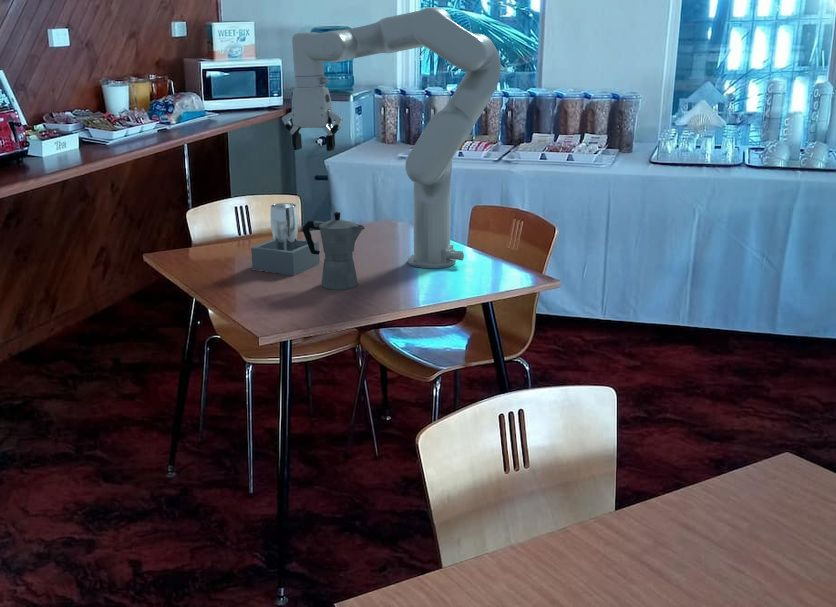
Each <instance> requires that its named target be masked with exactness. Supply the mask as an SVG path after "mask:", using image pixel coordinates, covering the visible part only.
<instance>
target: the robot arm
mask: <svg viewBox="0 0 836 607" xmlns="http://www.w3.org/2000/svg"><path fill="white" fill-rule="evenodd" d="M291 41H292V42H291V43H292V44H291V46H292V59H293V60H292V61H293V73H294V84H295V85H294V87H295V88H293V91H292V97H291V111H290V112H288V113H287V114H285V115H284V116H281V120H282V122H283V124H284V126H285V129H287V131H288V132H289V133H290V135H291V139H292V146H293V151H298V150H301V149H302V148H303V145H302V144H303V142H302V141H303V140H302V134H301V133H300V131H301V130H302V129H303V128H304V129H307V128H308V129H323V130H324V132H325V133H326V134H327V135H325V144H326V145H325V147H326V151H327V152H331V151H334V150H335V147H336V136H335V135H336V134H337V132H338V131H339V130H340V129H341V127H342V126H341V125H342V123H343V120H344V118H343V117H342V116H340V115H339V114H337V113H335V112H334V110H333V103H332V98H331V94H330V90H329V87H326V84H329V83H330V80H329V78H328V77H326V75H325V69H324V68H325V67H324V62H326V63H338V62H344V61H348V60H353V59H358V58H363V57H368V56H372V55H373V56H374V55H377V54H379V55H380V54H393V53H398V52H404V51H408V50H413V49H417V48H422V47H423V48H424V47H425V48H427V49H428V50H429V51H431V52H432V53H434V54H436V55H437V56H439V57H440V58H442V59H443V60H444V61H446V62H447V63H449V64H451V65H452V66H454V67H456V68H458V69H459V70H460V71H461V70H462V71H464V72H465V74H464V75H463V78H462V80H461V81H460V83H458V85H457V87H456V89H455V91H454V93H453V94H452V96H451V97H450V99H449V100H448V102H447V103H446V105H444V107H443V108H441V109H440V110H439V111H437V112H436V113H435V114H433V116H432V117H431V118H430V120H429V121H428V122H427V124H426V125H425V127H424V128H423V131H422V132H421V134H420V136H419V137H418V139H417V140H416V142H415V144H414V146H413V147H412V149H411V150H410V152H409V154H408V155H407V157H406V160H405V164H404V165H405V167H404V168H405V172H406V176H407V177H408V179H409V180H410V181H411V182H412V183H413V192H412V194H413V197H412V198H413V199H412V200H413V202H412V203H413V205H412V206H413V208H412V209H413V221H412V222H413V223H412V224H413V254H411V255H409V256H408V258H407V262H408V264H409V265H410V266H413V267H417V268H421V269H441V268H447V267H451V266H453V265H454V264H456V260H457V261H463V260H464V257H465V254H464V252H463V250H462V251H461V250H455V249H454V244H451V240H450V239H451V185H452V184H451V183H452V172H453V171H452V168H453V160H452V159H453V158H454V156H455V155H456V153H457V151H458V150H459V148H461V146H462V144H463V143H464V142H465V141H466V140H467V139H468V138H469V137H470V135H471V132H472V130H473V128H474V126H475V125H476V123H477V122H478V120H479V118H480V117H481V116H482V113H483V112H484V110H485V108H486V107H487V106H488V103H489V102H490V100H491V99H492V97H493V95H494V93H495V91H496V89H497V86H498V84H499V81H500V78H501V72H502V71H501V70H502V65H501V64H502V63H501V59H500V55H499V52H498V50H497V48H496V46H495V44H494V43H493V41H492V39H490V38H489V37H488V36H486V35H485V34H481V33H478V32H477V33H472V32H471V31H468V30H467V29H465V28H464V27H462V26H460V25H459V24H457V23H456V22H455V21H453V20H452V17H451V15H450V14H449V12H448V11H446V10H445V9H443V8H441V7H425V8H423V9H421V10H417V11H411V12H406V13H402V14H397V15H393V16H387V17H383V18H381V19H380V20H378V21H376V22H374V23H370V24H365V25H361V26H358V27H353V28H352V27H351V28H347V29H339V30H330V31H326V32H320V33H319V32H313V31H312V32H306V31H305V32H297V33H294V34H293V35H292V38H291ZM291 120H292V122H291ZM334 122H335V123H334Z"/></svg>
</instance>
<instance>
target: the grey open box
mask: <svg viewBox="0 0 836 607" xmlns="http://www.w3.org/2000/svg"><path fill="white" fill-rule="evenodd" d="M313 242H314V248H315V250H317V251H320V243H319V242H320V241H317V240H313ZM250 250H251V252H250V253H251V265H252V266H251V267H252V270H253V269H254V270H262V271H267V272H266V273H268V272H273V273H272V274H276V273H279V274H278V275H284V274H285V275H284V276H291V275H293V277H294V275H295V276H296V275H299V274H302V273H303V272H305V271H307V270H310V269H312V268H313V267H315V266H318V265H319V264H320V253H319V254H318V255H317V254H312V253H311V252H310V249H309V246H308V244H307V241H306V239H301V238H300V239H298V238H297V241H296V249H295V250H293V251H286V250H277V249H276V248H275V243H274V238H272V239H269V240H267V241H265V242H263V243H260V244H257V245H255V246H251V247H250Z"/></svg>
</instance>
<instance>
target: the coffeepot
mask: <svg viewBox="0 0 836 607" xmlns="http://www.w3.org/2000/svg"><path fill="white" fill-rule="evenodd" d="M333 216H334V219H331V220H327V221H325V222H324V221H322V220H321V221H319V220H315V221H314V220H308V221H307V222H306V223H305V224H304V225H303V226H302V233H303V235H304V237H305V238H304V239H305V240H306V241H307V244H308V246H309V249H310V252H311V253H312V254H317V255H318V254H319V255H320V253H321V251H320V250H319V251H317V250H315V248H314V242H313V241H314V240H313V238H312V233H311V231H310V230H311V229H314V230H317V231H319V233H320V238H321V243H322V248H323V253H324V259H323V267H322V276H321V287H322V288H324V289H327V290H332V291H344V290H350V289H354V288H356V287H357V286H358V285H359V284H358V283H359V282H358V278H357V271H356V267H355V262H354V258H353V256H354V255H353V252H354V251H355V243H356V240H357V239H358V237H359V236H360V234H361V233H362V231H363V230H365V229H366V228H365V226H364V225H362V224H358V223H356V222H355V221H350V220H344V219H341V212H338V211H336V212H333Z"/></svg>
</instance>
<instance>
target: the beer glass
mask: <svg viewBox="0 0 836 607" xmlns="http://www.w3.org/2000/svg"><path fill="white" fill-rule="evenodd" d="M298 218H299V217H298V209H297V204H295V203H292V202H279V203H274V204H271V205H270V228H271V233H272V234H271V235H272V239H274V243H275V248H276V249H277V250H286V251H293V250H295V249H296V241H297V239H298V232H299V219H298Z"/></svg>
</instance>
